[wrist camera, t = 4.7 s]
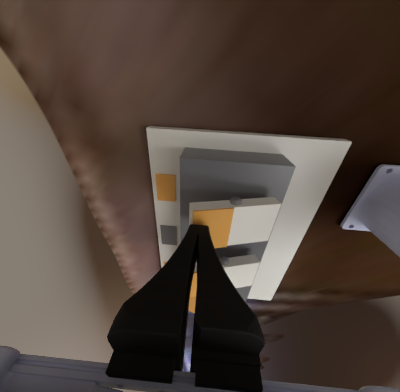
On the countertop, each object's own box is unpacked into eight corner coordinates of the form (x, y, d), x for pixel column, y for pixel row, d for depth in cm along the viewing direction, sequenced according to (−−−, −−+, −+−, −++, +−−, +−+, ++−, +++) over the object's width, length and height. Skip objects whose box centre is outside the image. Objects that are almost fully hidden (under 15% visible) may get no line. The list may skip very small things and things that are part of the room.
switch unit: (344, 138, 16) (381, 152, 12) (269, 294, 29) (276, 321, 26) (149, 125, 16) (132, 135, 13) (165, 284, 30) (159, 309, 26)
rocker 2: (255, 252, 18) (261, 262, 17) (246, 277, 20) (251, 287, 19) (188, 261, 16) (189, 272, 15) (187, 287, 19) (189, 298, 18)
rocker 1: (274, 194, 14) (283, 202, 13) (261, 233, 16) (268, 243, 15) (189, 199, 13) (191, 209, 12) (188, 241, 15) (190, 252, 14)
